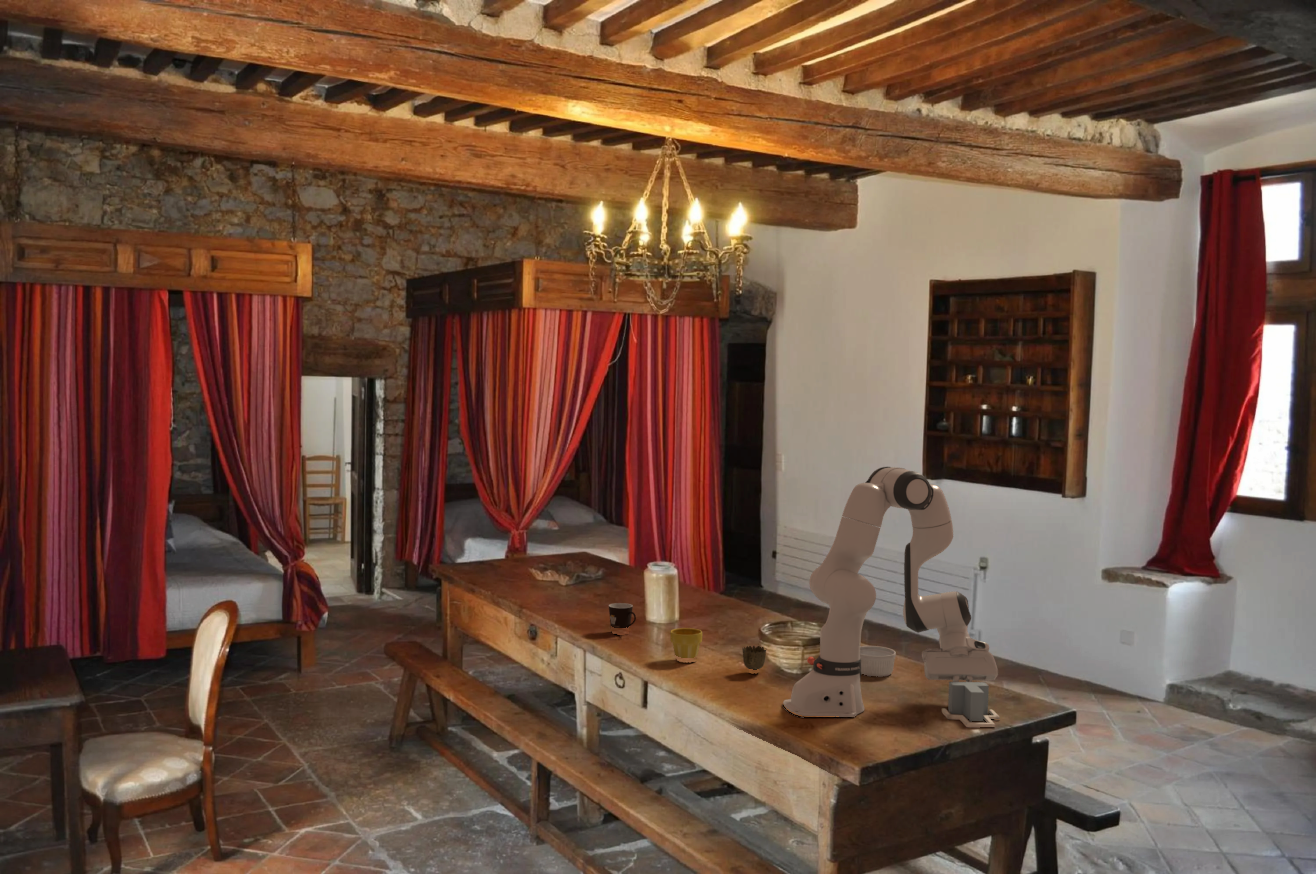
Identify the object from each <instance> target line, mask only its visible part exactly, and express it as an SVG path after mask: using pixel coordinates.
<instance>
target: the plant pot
mask: <svg viewBox="0 0 1316 874" xmlns="http://www.w3.org/2000/svg"><path fill="white" fill-rule="evenodd" d="M669 634H670V637H669V638H670V640H669V641H670V642H671V643H672V647H673V653H674V656H675V655H676V656H678V657H681V658H694V657H696V656H697V655H698V654H699V649H700V645H701V643H702V642H703V631H702V630H701V629H697V628H693V627H692V628H691V627H680V628H673V629H671V630H670V633H669ZM697 657H698V656H697Z"/></svg>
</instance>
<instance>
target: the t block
mask: <svg viewBox="0 0 1316 874" xmlns="http://www.w3.org/2000/svg"><path fill="white" fill-rule="evenodd" d="M989 689H990V685H989V684H987V683H986V682H985V681H983V682H982V681H979V682H978V681H972V682H966V681H959V682H953V681H948V702H947V703H948V704H947V705H948V706H947V708H948V710H947V711H948V712H949V713H950V714H951V715H963V716H964V717H965V718H966V719H967V720H968V719H969V720H968V721H969V722H972V721H983V722H984V720H983V715H988V714H989V691H990V690H989Z"/></svg>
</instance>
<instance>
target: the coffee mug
mask: <svg viewBox="0 0 1316 874" xmlns="http://www.w3.org/2000/svg"><path fill="white" fill-rule="evenodd" d="M633 607H634V606H633V604H631V603H625V602H624V603H621V602H618V603H617V602H615V603H610V604H608V613H609V622H610V627H611V626H612V627H614V628H626V627H627V628H628V627H629V626H630V627H631V626H632V625H634V623H635V622H636V621H637V620H636V619H637V616H636V614H635V612H634V611H633ZM632 615H633V621H632Z"/></svg>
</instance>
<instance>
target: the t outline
mask: <svg viewBox="0 0 1316 874" xmlns="http://www.w3.org/2000/svg"><path fill="white" fill-rule="evenodd" d="M941 713H942V714H943V715H944V716H945V718H946V719H947V720H960V722H962V723H963V725H964V726H965V727H966V728H980V727H995V728H996V723H994V720H991V719H1000V715H999V714H998V713H996V711H995V710H993V708H992V709H989V708H988V714H989V713H990V714H991V715H990V714H989V715H988V714H983V719H984V720H985V721H986V722H987V723H986V722H985V721H984V720H983V721H984V722H972V721H969V720H968V719H967V717H966V716H965V715H964V714H951V713H950V711H949V710H947V708H941ZM1000 720H1001V719H1000Z"/></svg>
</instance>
